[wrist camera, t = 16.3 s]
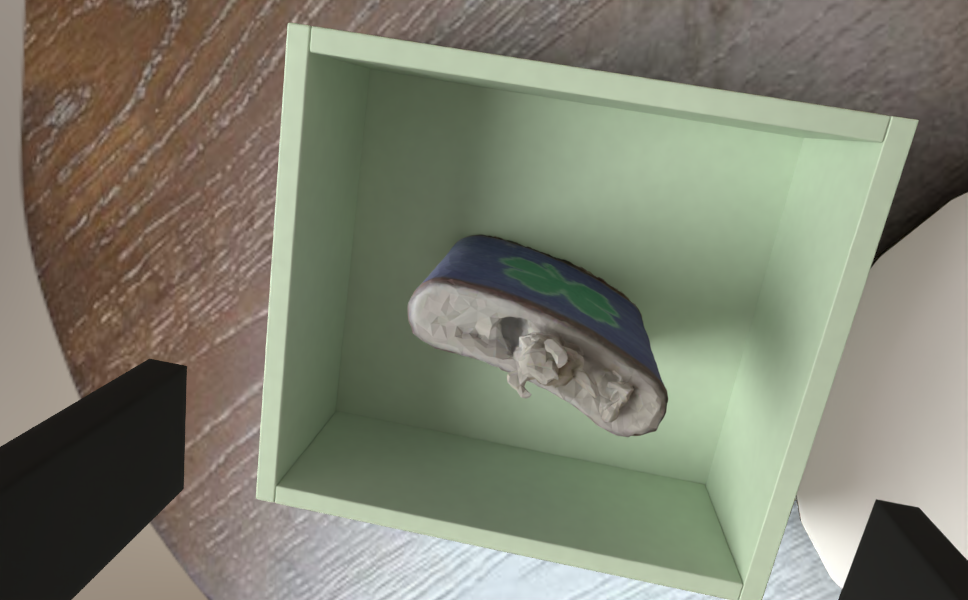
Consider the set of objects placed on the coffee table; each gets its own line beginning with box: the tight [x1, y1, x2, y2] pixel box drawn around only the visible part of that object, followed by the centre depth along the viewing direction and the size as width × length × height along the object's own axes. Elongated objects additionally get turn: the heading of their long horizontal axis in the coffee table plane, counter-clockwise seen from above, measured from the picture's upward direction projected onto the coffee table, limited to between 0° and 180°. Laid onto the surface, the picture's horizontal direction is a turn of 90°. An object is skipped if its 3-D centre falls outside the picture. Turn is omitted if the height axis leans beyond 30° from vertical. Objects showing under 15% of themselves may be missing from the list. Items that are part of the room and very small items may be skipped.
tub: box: [256, 23, 919, 600], centre depth 26 cm, size 20×18×8 cm
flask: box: [408, 234, 668, 437], centre depth 24 cm, size 9×3×11 cm, turn 66°
